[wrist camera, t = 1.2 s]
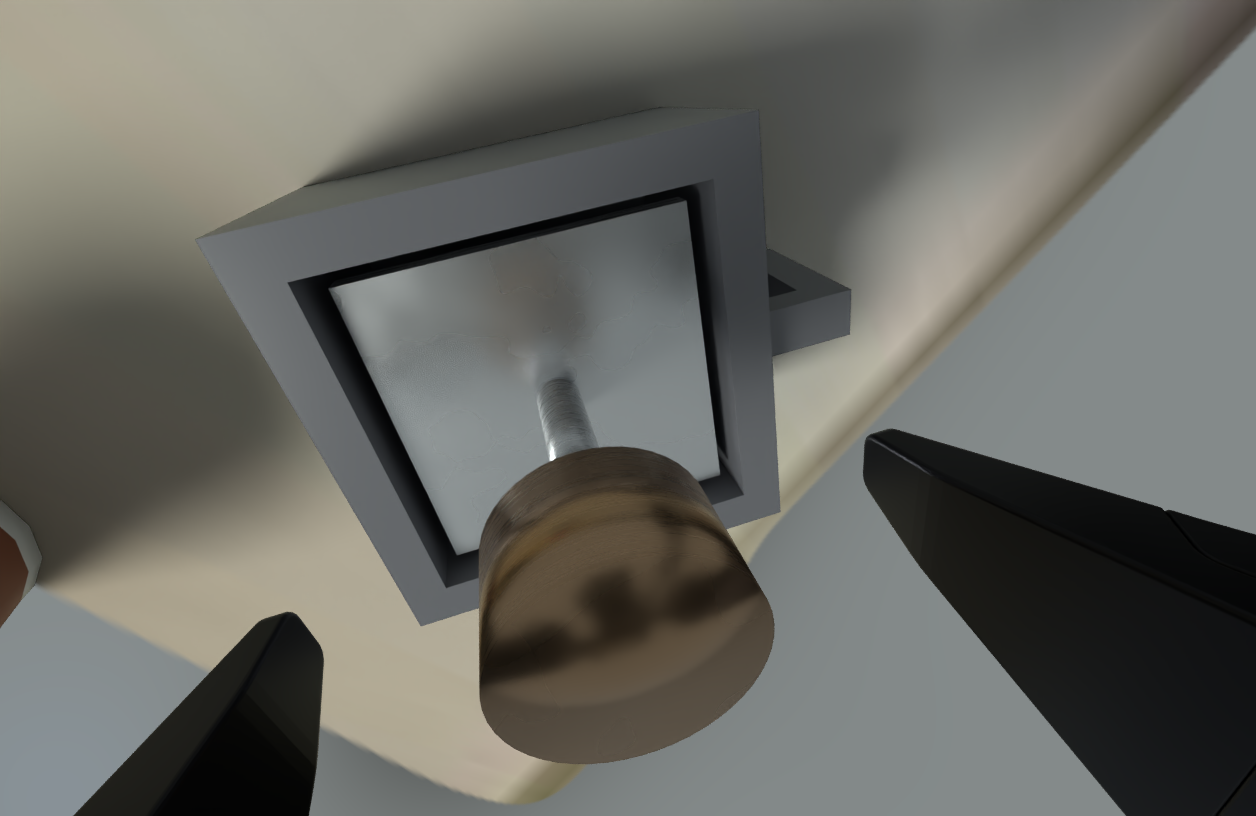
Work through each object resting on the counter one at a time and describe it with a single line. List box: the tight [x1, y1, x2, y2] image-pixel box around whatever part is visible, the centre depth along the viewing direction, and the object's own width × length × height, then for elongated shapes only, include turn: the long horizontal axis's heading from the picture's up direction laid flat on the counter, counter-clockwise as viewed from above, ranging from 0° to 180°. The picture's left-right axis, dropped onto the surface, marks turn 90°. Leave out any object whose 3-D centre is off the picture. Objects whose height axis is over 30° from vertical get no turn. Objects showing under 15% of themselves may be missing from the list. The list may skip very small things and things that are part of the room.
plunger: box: [329, 196, 774, 764], centre depth 10 cm, size 7×7×8 cm
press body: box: [195, 107, 851, 626], centre depth 15 cm, size 12×10×6 cm
